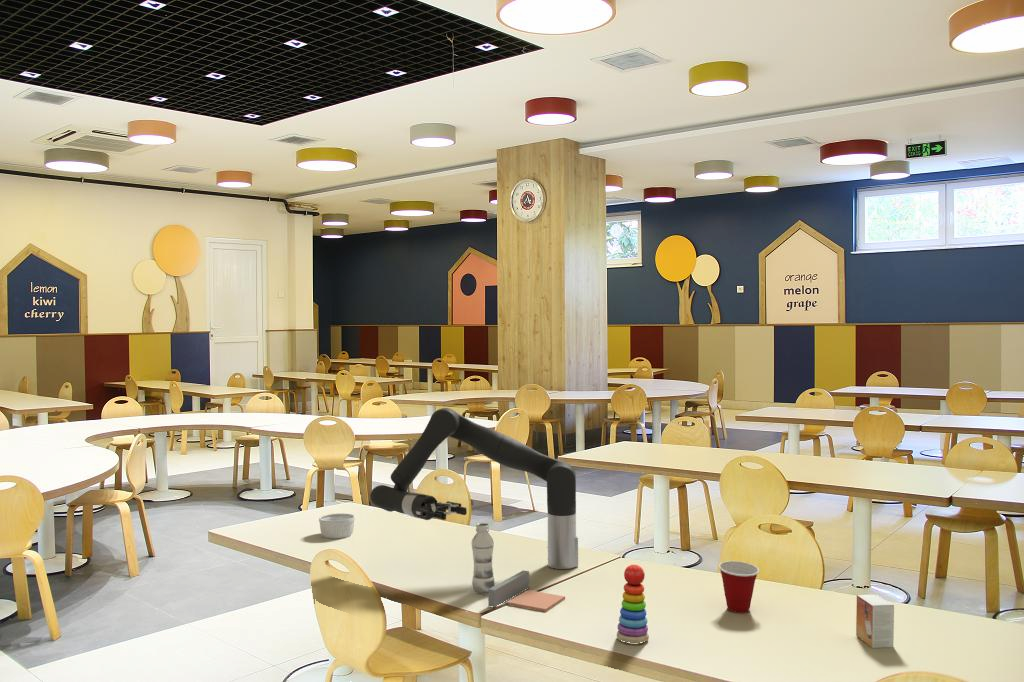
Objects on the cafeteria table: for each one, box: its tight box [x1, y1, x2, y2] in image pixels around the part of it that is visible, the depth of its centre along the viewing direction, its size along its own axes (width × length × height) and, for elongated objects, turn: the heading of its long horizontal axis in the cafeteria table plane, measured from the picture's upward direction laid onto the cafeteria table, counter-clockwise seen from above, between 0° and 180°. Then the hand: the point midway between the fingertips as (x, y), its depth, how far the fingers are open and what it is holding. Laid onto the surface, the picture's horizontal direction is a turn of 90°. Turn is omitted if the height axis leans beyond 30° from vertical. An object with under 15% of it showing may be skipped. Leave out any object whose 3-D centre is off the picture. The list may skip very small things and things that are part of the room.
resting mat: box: [507, 589, 566, 613], centre depth 238 cm, size 12×12×1 cm
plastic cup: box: [718, 560, 760, 614], centre depth 230 cm, size 11×11×12 cm
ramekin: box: [318, 512, 356, 540], centre depth 314 cm, size 13×13×7 cm
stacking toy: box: [616, 564, 650, 643], centre depth 209 cm, size 8×8×19 cm
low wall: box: [487, 569, 530, 608], centre depth 242 cm, size 20×2×5 cm, turn 150°
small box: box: [855, 594, 895, 649], centre depth 207 cm, size 8×6×10 cm
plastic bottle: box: [470, 522, 496, 594], centre depth 246 cm, size 6×7×20 cm
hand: (455, 513), depth 253 cm, fingers open, 8 cm apart
